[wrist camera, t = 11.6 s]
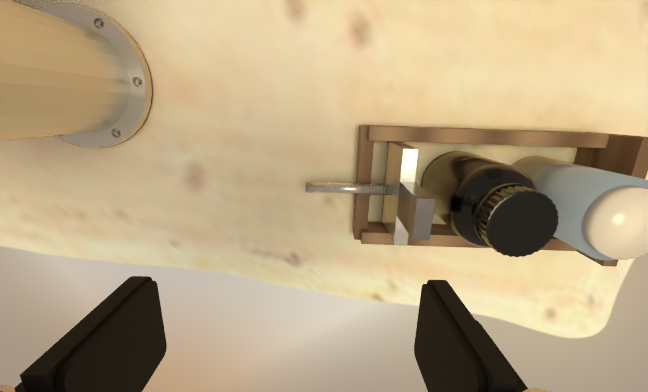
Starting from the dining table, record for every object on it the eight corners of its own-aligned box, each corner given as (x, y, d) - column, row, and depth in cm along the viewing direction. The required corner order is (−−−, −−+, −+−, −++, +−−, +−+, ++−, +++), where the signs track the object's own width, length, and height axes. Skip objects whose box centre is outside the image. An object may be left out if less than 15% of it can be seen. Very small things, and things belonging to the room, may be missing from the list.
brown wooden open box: (353, 231, 33) (358, 257, 27) (359, 125, 30) (367, 128, 24) (565, 238, 33) (616, 266, 27) (594, 132, 30) (658, 137, 24)
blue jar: (493, 214, 32) (574, 265, 22) (505, 155, 31) (598, 178, 20) (553, 216, 32) (663, 268, 22) (568, 157, 31) (695, 181, 20)
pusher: (307, 218, 32) (297, 270, 22) (308, 138, 30) (298, 154, 20) (393, 220, 32) (424, 274, 22) (401, 141, 30) (440, 159, 20)
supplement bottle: (467, 137, 30) (554, 153, 19) (496, 192, 32) (593, 239, 20) (407, 173, 31) (453, 210, 20) (437, 225, 33) (497, 288, 21)
